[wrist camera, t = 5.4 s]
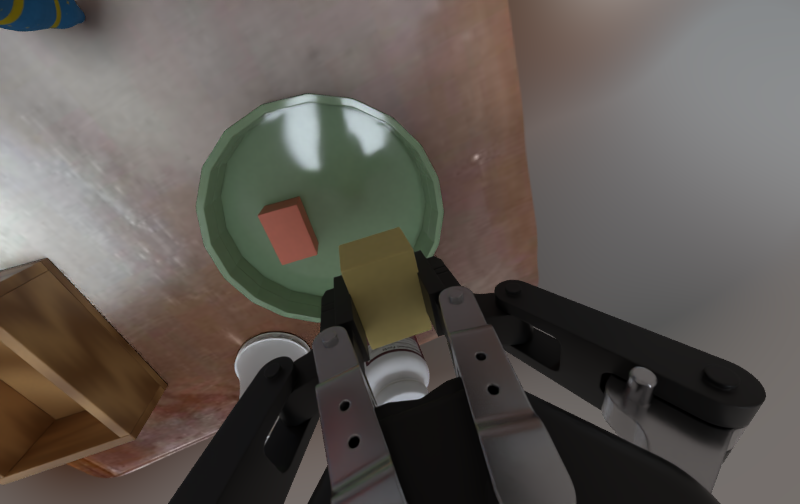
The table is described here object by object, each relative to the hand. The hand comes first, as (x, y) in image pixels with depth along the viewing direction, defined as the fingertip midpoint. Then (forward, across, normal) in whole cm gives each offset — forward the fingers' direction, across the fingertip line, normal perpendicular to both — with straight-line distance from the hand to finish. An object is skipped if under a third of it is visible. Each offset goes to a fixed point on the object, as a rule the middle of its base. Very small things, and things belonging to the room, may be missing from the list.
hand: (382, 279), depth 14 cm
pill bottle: (+13, +2, +14) cm, 20 cm away
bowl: (+13, +2, 0) cm, 13 cm away
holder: (+13, +30, +5) cm, 33 cm away
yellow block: (+1, 0, 0) cm, 1 cm away
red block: (+13, +6, 0) cm, 14 cm away
